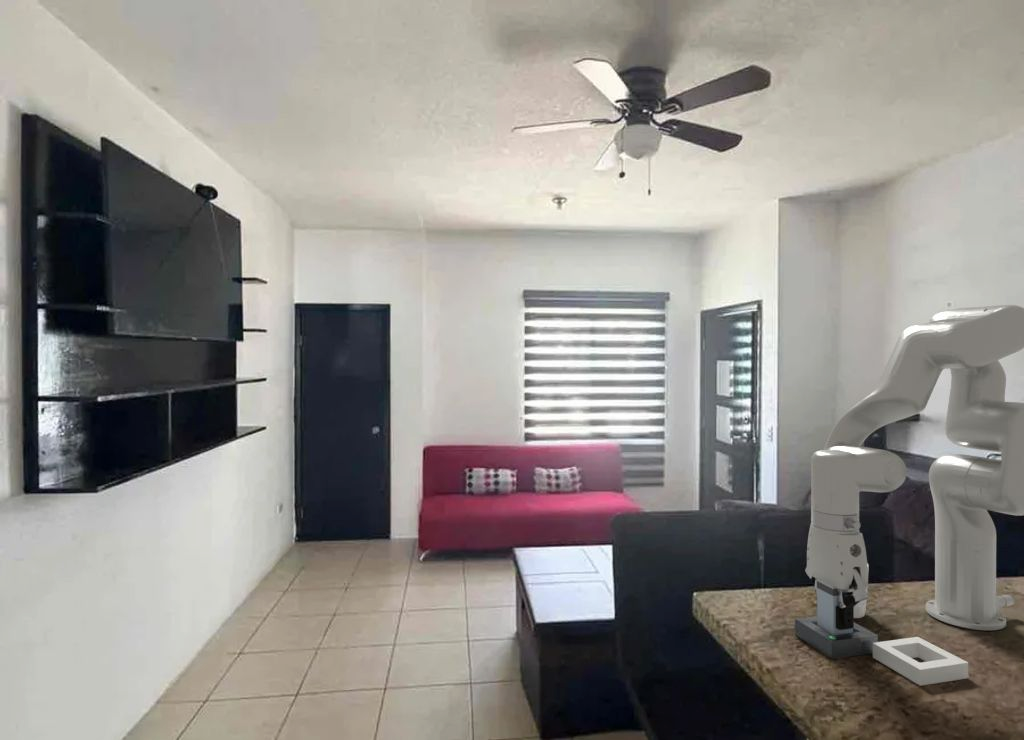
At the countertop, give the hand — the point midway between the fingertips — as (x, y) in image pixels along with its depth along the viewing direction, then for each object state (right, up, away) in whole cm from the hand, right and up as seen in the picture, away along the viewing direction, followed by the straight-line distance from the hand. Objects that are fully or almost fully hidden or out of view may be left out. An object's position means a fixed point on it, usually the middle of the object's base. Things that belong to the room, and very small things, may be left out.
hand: (834, 621), depth 108 cm
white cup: (+9, -4, +13) cm, 17 cm away
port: (0, -4, 0) cm, 4 cm away
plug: (0, -3, 0) cm, 3 cm away
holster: (+9, -4, -9) cm, 13 cm away
